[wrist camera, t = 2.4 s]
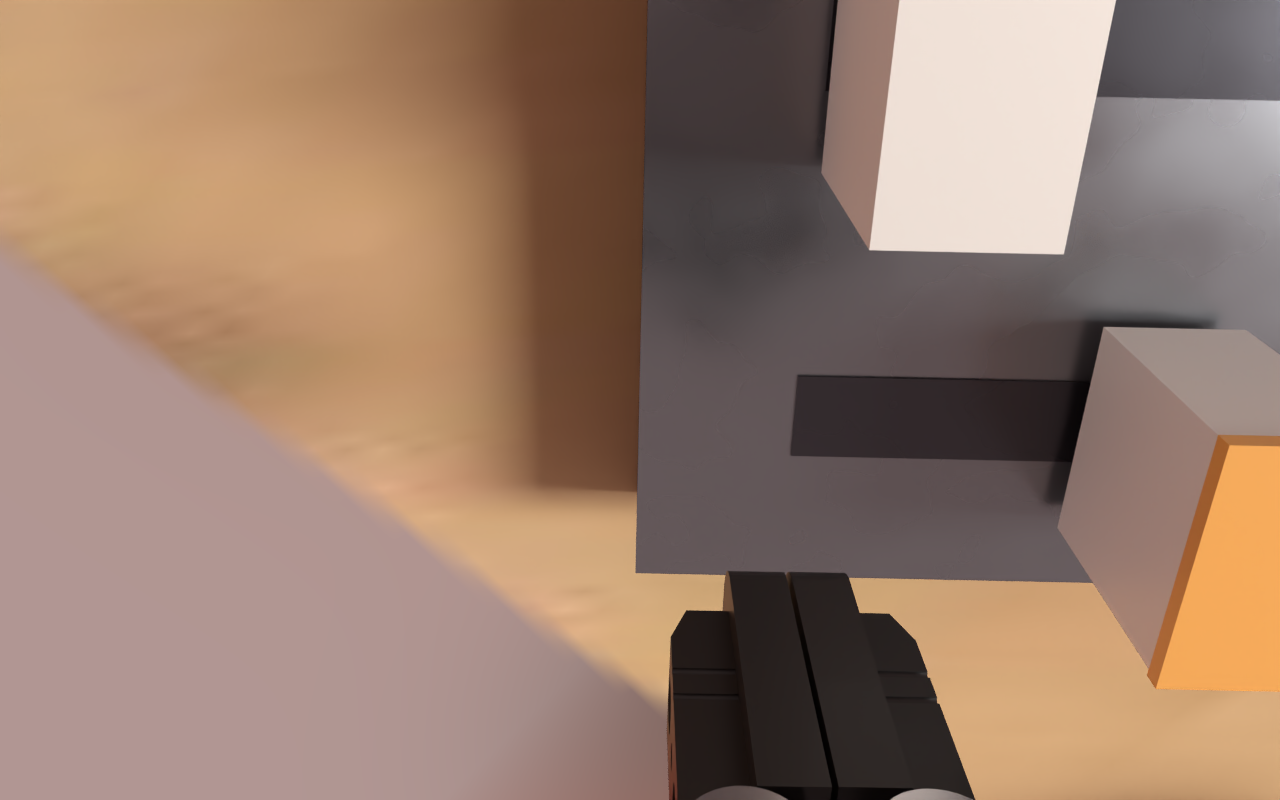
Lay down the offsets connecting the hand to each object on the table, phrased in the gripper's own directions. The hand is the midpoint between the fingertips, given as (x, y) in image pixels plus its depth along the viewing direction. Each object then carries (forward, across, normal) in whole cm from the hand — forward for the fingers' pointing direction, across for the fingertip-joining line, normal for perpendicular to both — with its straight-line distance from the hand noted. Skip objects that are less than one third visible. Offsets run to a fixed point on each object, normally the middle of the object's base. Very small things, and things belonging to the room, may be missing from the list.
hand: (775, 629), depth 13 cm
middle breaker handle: (+6, -2, -6) cm, 9 cm away
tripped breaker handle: (+6, -7, 0) cm, 9 cm away
